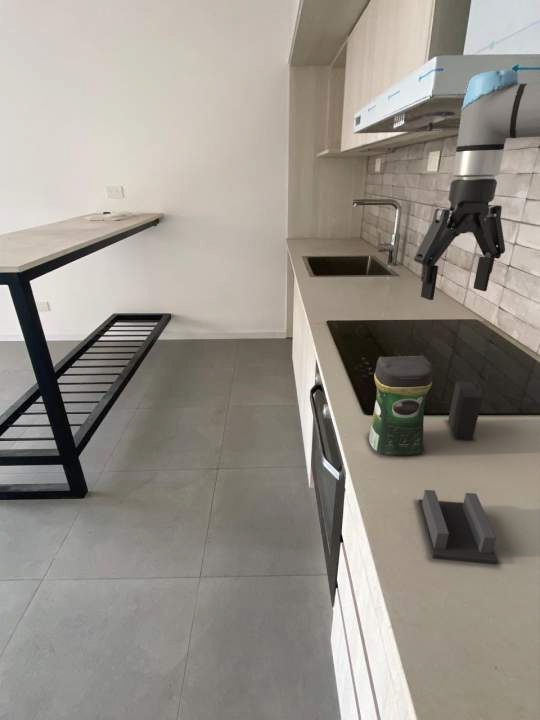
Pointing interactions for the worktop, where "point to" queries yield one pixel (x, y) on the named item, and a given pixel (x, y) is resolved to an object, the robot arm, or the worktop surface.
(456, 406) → the dark gray block
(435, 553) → the base pad
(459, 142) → the robot arm
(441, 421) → the worktop surface
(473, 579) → the worktop surface
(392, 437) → the coffee jar
